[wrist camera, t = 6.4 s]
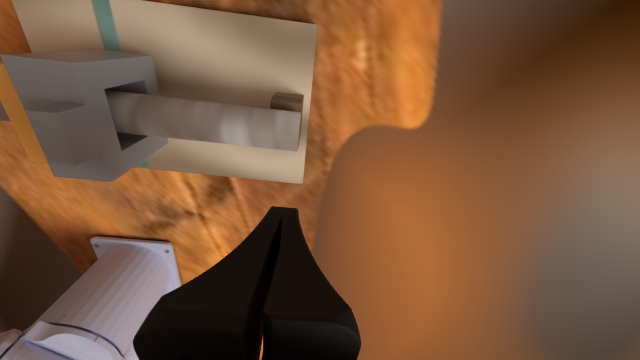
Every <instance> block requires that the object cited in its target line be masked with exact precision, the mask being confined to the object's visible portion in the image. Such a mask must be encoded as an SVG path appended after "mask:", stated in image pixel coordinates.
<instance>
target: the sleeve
mask: <svg viewBox="0 0 640 360" xmlns="http://www.w3.org/2000/svg"><path fill="white" fill-rule="evenodd" d="M0 57H1V59H2V61H3V63H4V66H5V68H6V70H7V72H8V75H9V77H10V79H11V81H12V83H13V86H14V88H15V90H16V92H17V95H18V97H19V99H20V101H21V104H22V106H23V108H24V110H25V112H26V115H27V117H28V119H29V121H30V124H31V126H32V128H33V130H34V132H35V135H36V137H37V139H38V141H39V144H40V146H41V148H42V150H43V153H44V155H45V157H46V159H47V161H48V164H49V166H50V168H51V170H52V173H53V175H54V177H65V178H76V179H86V180H97V181H108V182H112V181H114V180H115V179H117V178H118V177H120V176H121V175H123V174H124V173H126V172H127V171H129V170H130V169H131V168H133V167H134V166H136V165H137V164H139V163H140V162H142V161H143V160H145V159H146V158H147V157H149V156H150V155H152V154H153V153H155V152H156V151H158V150H159V149H161V148H162V147H163V146H165V145H166V144H168V138H165V137H156V136H146V135H137V134H127V133H118V132H116V129H115V126H114V122H113V119H112V115H111V112H110V108H109V105H108V101H107V97H106V94H105V90H111V91H120V92H129V93H137V94H146V95H155V96H160V95H159V89H158V84H157V79H156V73H155V68H154V62H153V57H152V56H150V55H142V54H134V53H126V52H118V51H110V50H85V51H62V52H38V53H15V54H0Z"/></svg>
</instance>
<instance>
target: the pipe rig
mask: <svg viewBox="0 0 640 360" xmlns="http://www.w3.org/2000/svg"><path fill="white" fill-rule="evenodd" d="M11 1H12V3H13V6H14V9H15V11H16V14H17V16H18V19H19V21H20V24H21V26H22V29H23V31H24V34H25V37H26V39H27V42H28V44H29V47H30V49H31V52H32V53H38V52H62V51H85V50H110V51H118V52H126V53H134V54H142V55H150V56H152V57H153V62H154V68H155V73H156V79H157V84H158V89H159V95H160V96H155V95H146V94H137V93H129V92H120V91H111V90H105V94H106V97H107V101H108V105H109V108H110V112H111V115H112V119H113V122H114V126H115V129H116V132H118V133H127V134H137V135H146V136H156V137H165V138H168V144H166V145H165V146H163V147H162V148H161V149H159V150H158V151H156V152H155V153H153V154H152V155H150V156H149V157H147V158H146V159H145V160H143V161H142V162H140V163H139V164H137V165H136V166H134V167H135V168H145V169H156V170H166V171H176V172H186V173H197V174H207V175H217V176H228V177H238V178H248V179H258V180H269V181H279V182H289V183H299V184H302V183H303V173H304V163H305V153H306V142H307V132H308V121H309V111H310V101H311V90H312V80H313V70H314V59H315V49H316V38H317V28H318V25H317V24H310V23H302V22H295V21H288V20H281V19H273V18H266V17H259V16H252V15H244V14H237V13H230V12H223V11H216V10H208V9H201V8H194V7H187V6H179V5H172V4H165V3H158V2H150V1H143V0H11ZM0 120H4V121H10V119H9V117H8V115H7V113H6V111H5V109H4V107H3V105H2V103H1V101H0Z"/></svg>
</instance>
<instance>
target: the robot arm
mask: <svg viewBox="0 0 640 360" xmlns="http://www.w3.org/2000/svg"><path fill="white" fill-rule="evenodd" d="M90 242H91V244H92V246H93V249H94V251H95V253H96V256H97V258H98V260H97V261H96V262H95V263H94V264H93V265H92V266H91V267H90V268H89V269H88V270H87V271H86V272H85V273H84V274H83V275H82V276H81V277H80V278H79V279H78V280H77V281H76V282H75V283H74V284H73V285H72V286H71V287H70V288H69V289H68V290H67V291H66V292H65V293H64V294H63V295H62V296H61V297H60V298H59V299H58V300H57V301H56V302H55V303H54V304H53V305H52V306H51V307H50V308H49V309H48V310H47V311H46V312H45V313H44V314H43V315H42V316H41V317H40V318H39V319H38V320H37V321H36V322H35V323H34V324H33V325H32V326H30V327H29V328H28V329H27V330H25V331H24V332H23V333H22V334H21V331H19V330H17V329H12V330H10V331H8V332H3V333H0V360H259V357H260V350H261V344H262V338H263V355H262V360H357V357H358V354H359V351H360V348H361V339H360V334H359V330H358V326H357V323H356V320H355V317H354V314H353V312H352V309H351V308H350V307H349V305H348V304H346V302H345V301H344V300H343V299H342V298H341V297H340V295H339V294H338V293H337V292H336V291H335V290H334V288H333V287H332V286H331V284H330V283H329V281H328V280H327V279H326V277H325V276H324V274H323V273H322V271H321V270H320V268H319V267H318V265H317V263H316V262H315V260H314V258H313V256H312V254H311V252H310V250H309V247H308V245H307V243H306V240H305V238H304V235H303V232H302V229H301V225H300V221H299V216H298V210H297V209H296V208H285V207H273V206H272V207H271V208H270V209H269V211H268V212H267V214H266V215H265V217H264V218H263V219H262V220H261V222H260V223H259V224H258V225H257V226H256V228H255V229H254V230H253V231H252V232H251V233H250V234H249V235H248V236H247V237H246V238H245V240H244V241H243V242H242V243H241V244H240V245H238V246H237V247H236V248H235V249H234V250H233V251H232V252H231V253H229V254H228V255H227V256H226V257H225V258H223V259H222V260H221V261H219V262H218V263H217V264H215V265H214V266H213V267H211V268H210V269H208V270H207V271H205V272H204V273H202V274H201V275H199V276H198V277H196V278H194V279H193V280H191V281H189V282H188V283H186V284H184V285H182V286H181V282H180V277H179V273H178V268H177V264H176V260H175V255H174V251H173V246H172V244H171V243H169V242H162V241H149V240H137V239H124V238H112V237H99V236H94V237H93V238H92V239H91V240H90Z"/></svg>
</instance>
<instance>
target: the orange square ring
mask: <svg viewBox="0 0 640 360" xmlns="http://www.w3.org/2000/svg"><path fill="white" fill-rule="evenodd" d="M0 101H1V103H2V105H3V107H4V109H5V111H6V113H7V115H8V117H9V119H10V121H11V123H12V125H13V127H14V129H15V132H16V134H17V136H18V138H19V140H20V142H21V144H22V146H23V148H24V150H25V152H26V154H27V156H28V158H29V160H30V162H40V163H48V161H47V159H46V157H45V155H44V153H43V150H42V148H41V146H40V144H39V141H38V139H37V137H36V135H35V132H34V130H33V128H32V126H31V124H30V121H29V119H28V117H27V115H26V112H25V110H24V108H23V106H22V104H21V101H20V99H19V97H18V95H17V92H16V90H15V88H14V86H13V83H12V81H11V79H10V77H9V75H8V72H7V70H6V68H5V66H4V63H3V61H2V60H0Z"/></svg>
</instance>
